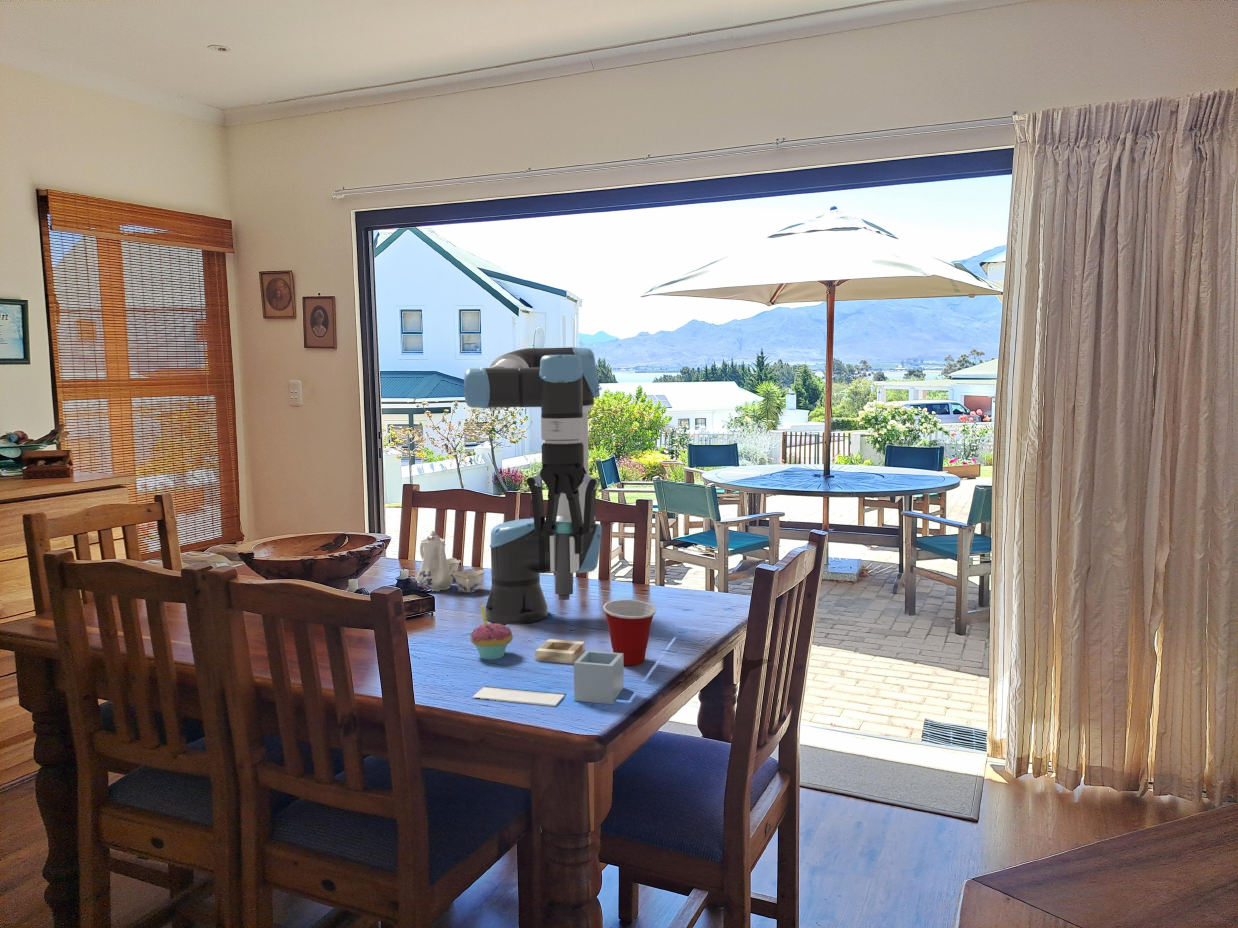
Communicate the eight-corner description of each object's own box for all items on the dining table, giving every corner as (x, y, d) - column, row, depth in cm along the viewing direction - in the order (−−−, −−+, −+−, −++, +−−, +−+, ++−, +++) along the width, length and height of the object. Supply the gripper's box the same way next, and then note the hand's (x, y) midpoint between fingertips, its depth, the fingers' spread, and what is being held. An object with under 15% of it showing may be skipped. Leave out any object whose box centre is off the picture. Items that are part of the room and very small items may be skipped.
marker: (555, 600, 154) (556, 522, 154) (554, 597, 157) (555, 521, 157) (573, 600, 154) (575, 522, 154) (572, 597, 158) (573, 521, 158)
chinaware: (494, 597, 234) (498, 536, 233) (438, 601, 224) (442, 538, 223) (448, 578, 256) (452, 523, 255) (395, 581, 246) (399, 524, 245)
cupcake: (477, 666, 173) (475, 608, 172) (466, 654, 181) (465, 598, 180) (518, 660, 177) (516, 603, 175) (506, 648, 184) (505, 593, 183)
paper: (472, 698, 156) (472, 696, 156) (503, 672, 169) (503, 670, 169) (555, 706, 152) (555, 704, 152) (580, 679, 165) (580, 677, 165)
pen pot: (574, 700, 154) (573, 662, 154) (586, 686, 161) (586, 650, 160) (612, 704, 152) (612, 665, 152) (623, 689, 159) (623, 653, 159)
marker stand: (535, 662, 175) (535, 650, 175) (549, 650, 183) (548, 638, 182) (572, 665, 173) (572, 653, 173) (584, 653, 181) (584, 641, 180)
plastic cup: (632, 676, 166) (631, 616, 165) (592, 664, 173) (591, 606, 172) (668, 662, 174) (667, 604, 173) (628, 651, 181) (628, 596, 180)
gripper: (512, 442, 152) (515, 572, 155) (598, 443, 148) (600, 577, 150) (528, 439, 160) (531, 564, 162) (611, 440, 155) (613, 568, 157)
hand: (564, 570), depth 156 cm, fingers closed on marker, 3 cm apart
